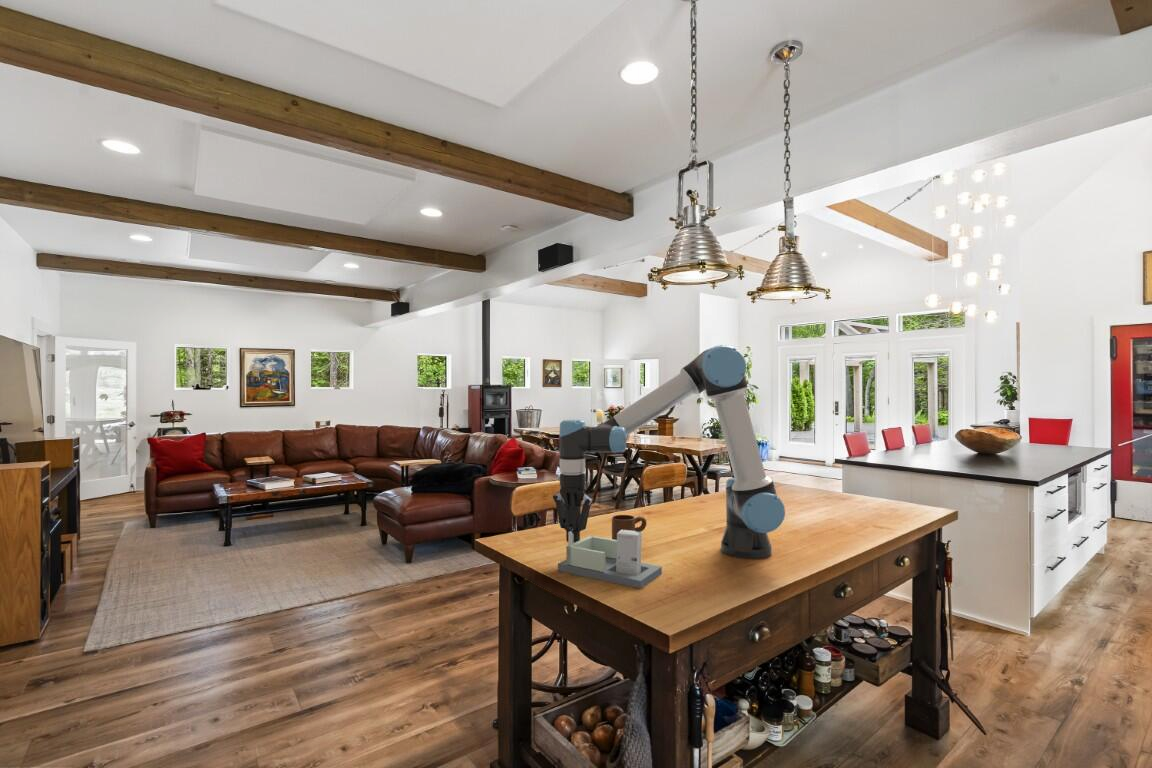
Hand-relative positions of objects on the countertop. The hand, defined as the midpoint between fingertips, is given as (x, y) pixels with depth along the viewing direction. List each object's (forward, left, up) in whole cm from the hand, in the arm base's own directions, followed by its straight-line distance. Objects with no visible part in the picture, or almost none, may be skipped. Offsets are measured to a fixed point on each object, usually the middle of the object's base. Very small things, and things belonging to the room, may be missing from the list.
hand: (573, 553), depth 159 cm
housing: (-8, 0, -1) cm, 8 cm away
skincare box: (-18, 0, -4) cm, 19 cm away
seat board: (-12, 0, -3) cm, 13 cm away
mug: (-5, -26, -4) cm, 27 cm away
